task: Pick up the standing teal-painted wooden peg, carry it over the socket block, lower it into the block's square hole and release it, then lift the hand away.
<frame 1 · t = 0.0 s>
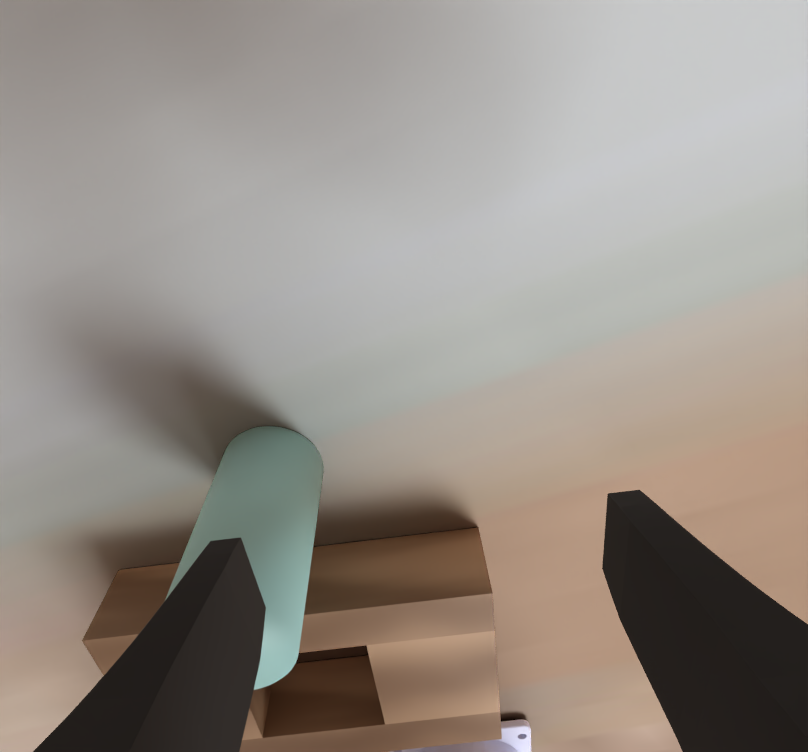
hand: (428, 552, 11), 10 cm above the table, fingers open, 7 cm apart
socket: (319, 623, 27), on the table
peg: (273, 467, 23), on the table
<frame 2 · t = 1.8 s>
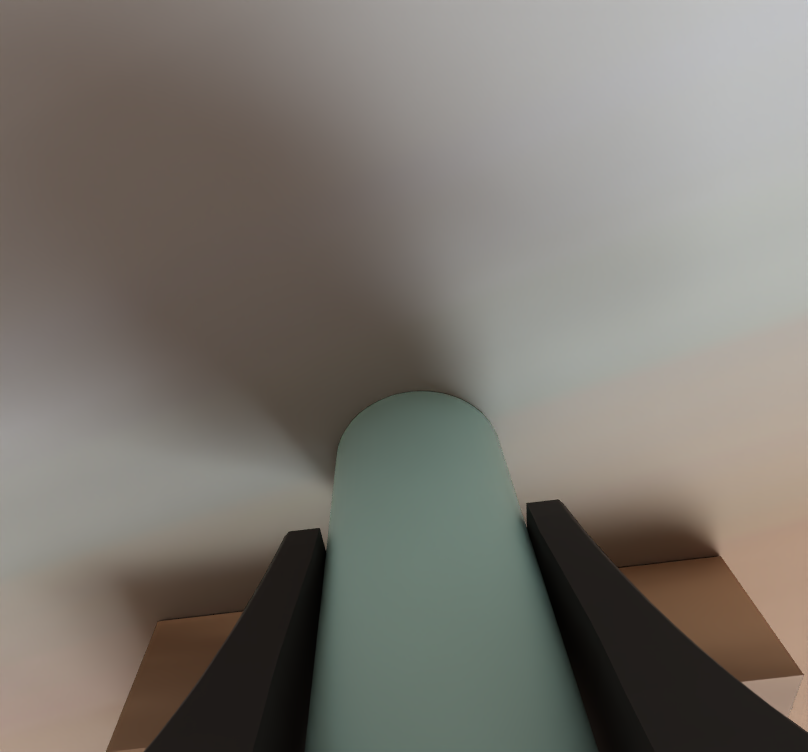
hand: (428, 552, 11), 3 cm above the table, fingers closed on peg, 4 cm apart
socket: (450, 694, 18), on the table
peg: (418, 461, 14), on the table, touching gripper
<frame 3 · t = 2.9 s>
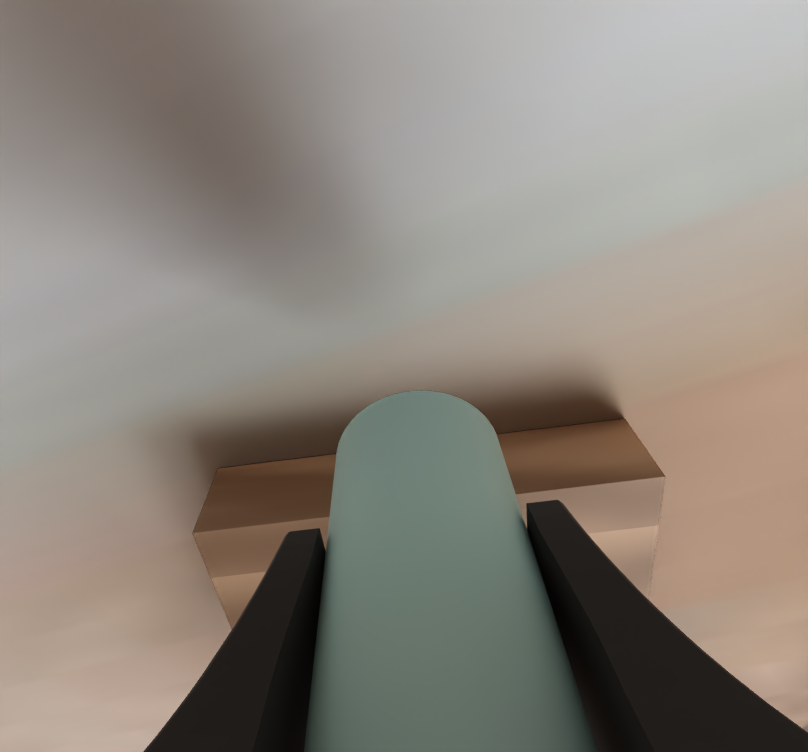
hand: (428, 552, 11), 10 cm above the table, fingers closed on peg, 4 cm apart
socket: (432, 537, 24), on the table
peg: (418, 461, 14), point 7 cm above the table, touching gripper
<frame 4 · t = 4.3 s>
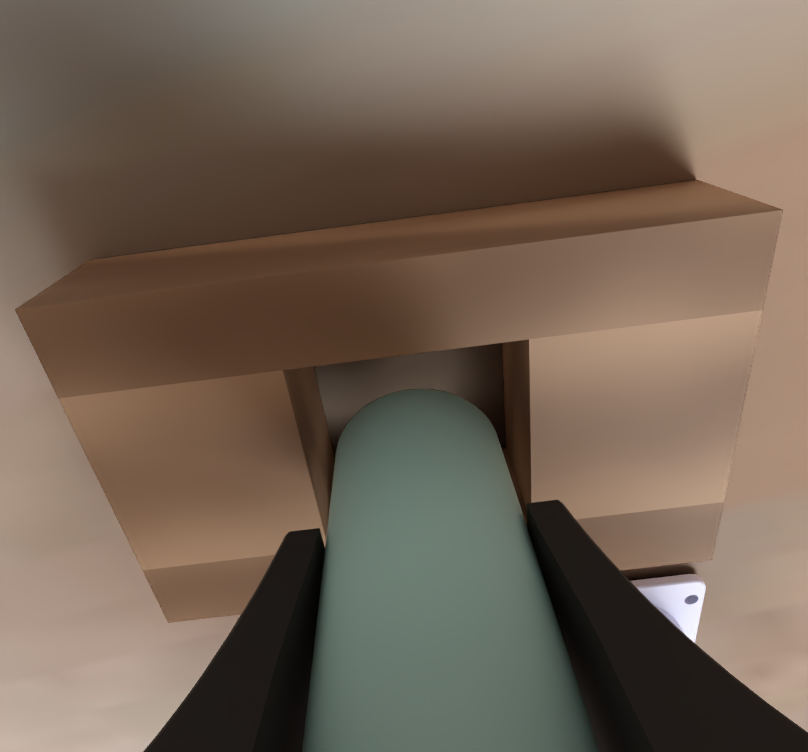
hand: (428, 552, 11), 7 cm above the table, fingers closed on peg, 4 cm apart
socket: (411, 385, 17), on the table
peg: (418, 460, 14), point 4 cm above the table, touching gripper
when the fingers open (5 cm above the table, at t = 5.1 s): peg drops 2 cm, resting in socket.
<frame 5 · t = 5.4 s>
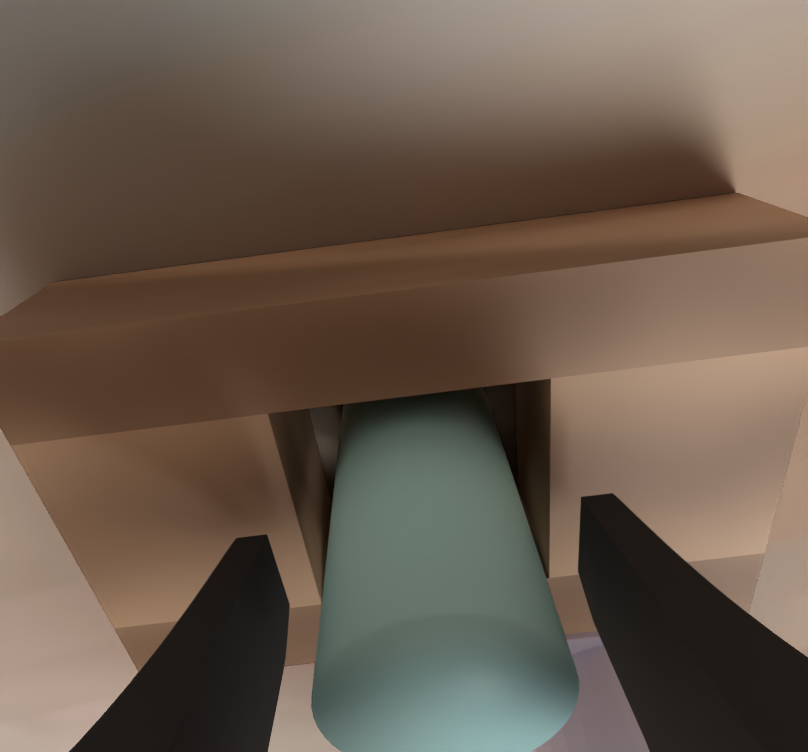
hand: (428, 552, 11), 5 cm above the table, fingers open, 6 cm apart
socket: (414, 417, 15), on the table
peg: (415, 415, 15), resting in socket
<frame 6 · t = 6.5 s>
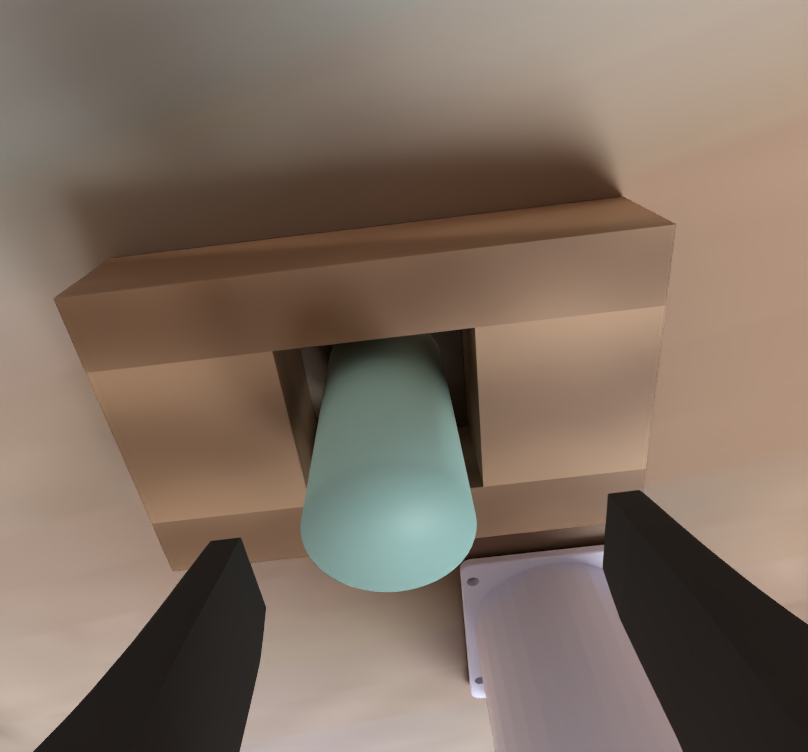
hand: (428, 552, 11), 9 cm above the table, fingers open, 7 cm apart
socket: (384, 369, 20), on the table
peg: (385, 367, 20), resting in socket
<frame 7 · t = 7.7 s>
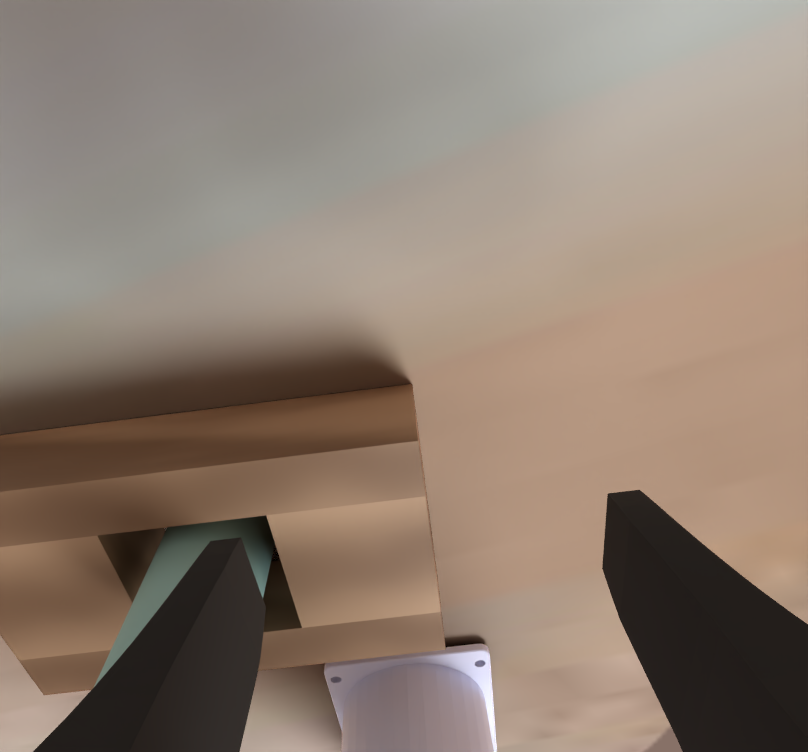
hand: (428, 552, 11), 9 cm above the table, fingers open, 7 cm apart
socket: (229, 514, 23), on the table
peg: (230, 513, 23), resting in socket
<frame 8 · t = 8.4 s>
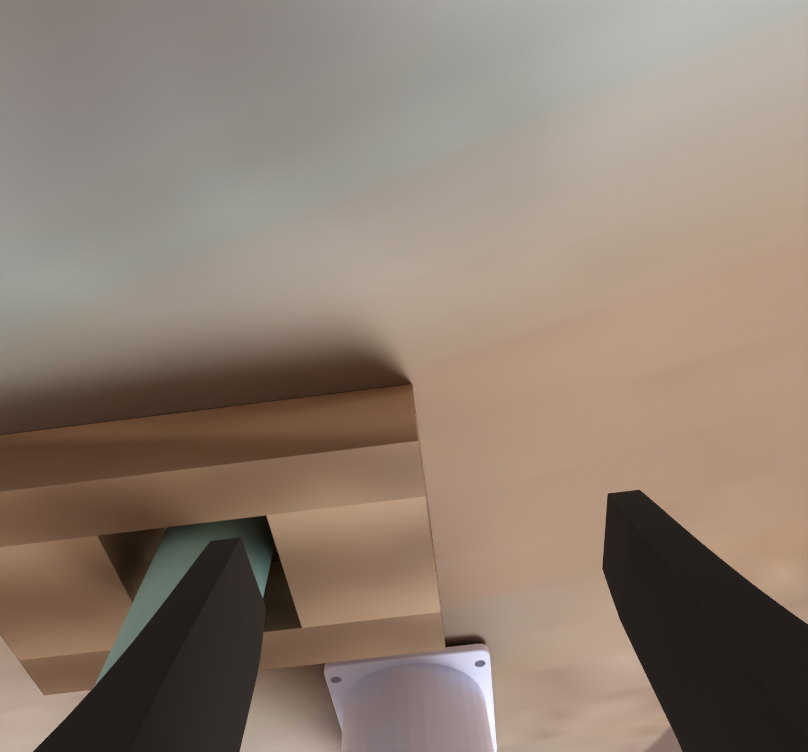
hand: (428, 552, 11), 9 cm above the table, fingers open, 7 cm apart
socket: (229, 514, 23), on the table
peg: (230, 513, 23), resting in socket
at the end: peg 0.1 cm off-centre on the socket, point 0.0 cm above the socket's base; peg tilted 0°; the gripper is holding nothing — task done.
